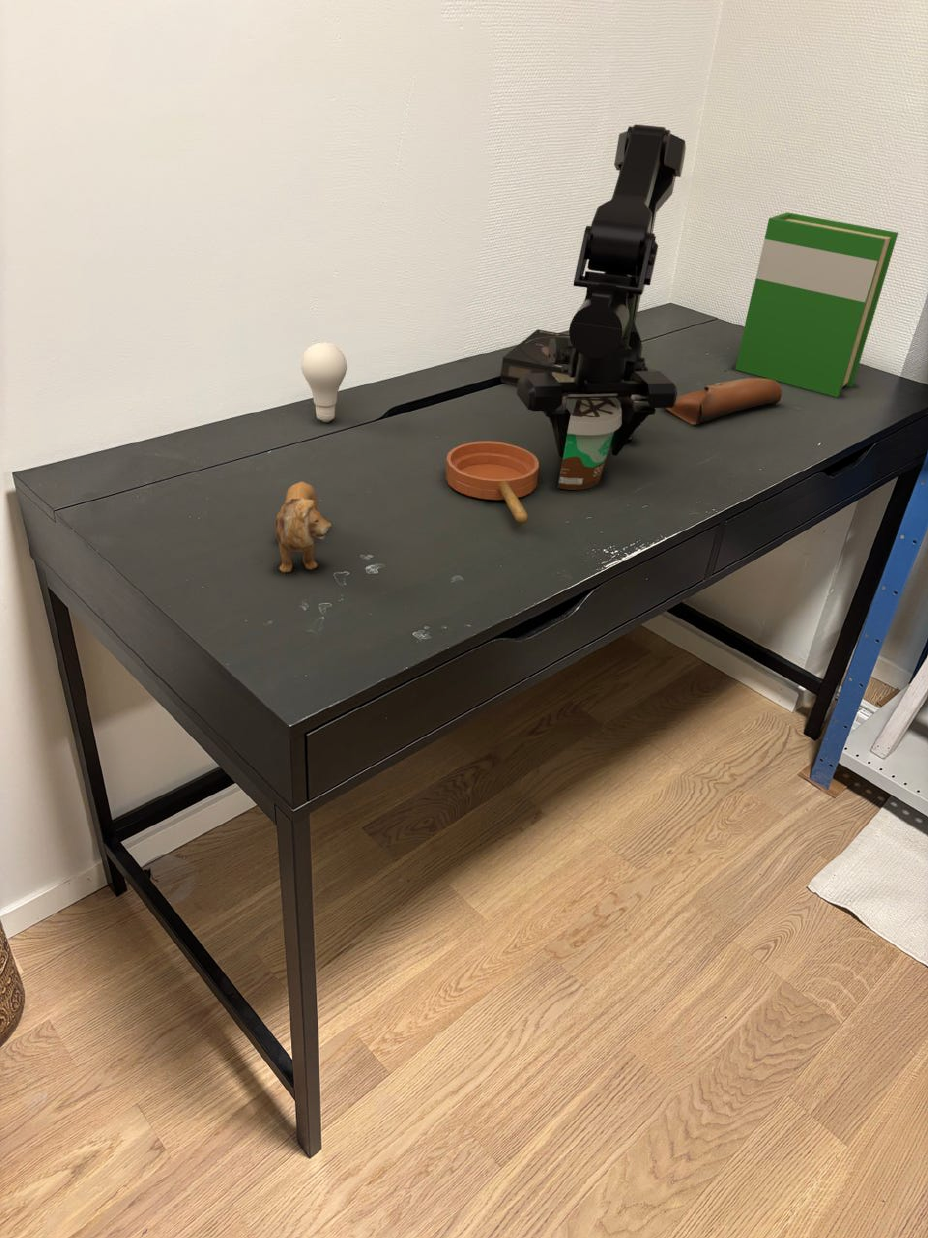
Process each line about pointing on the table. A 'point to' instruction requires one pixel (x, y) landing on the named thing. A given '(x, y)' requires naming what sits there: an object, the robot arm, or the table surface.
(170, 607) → the table surface
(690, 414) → the sunglasses case
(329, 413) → the lightbulb
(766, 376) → the hardback book
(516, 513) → the pan handle
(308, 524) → the lion figurine
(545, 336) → the portable cd player
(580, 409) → the food container
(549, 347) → the robot arm
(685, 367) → the table surface
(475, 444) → the pan
